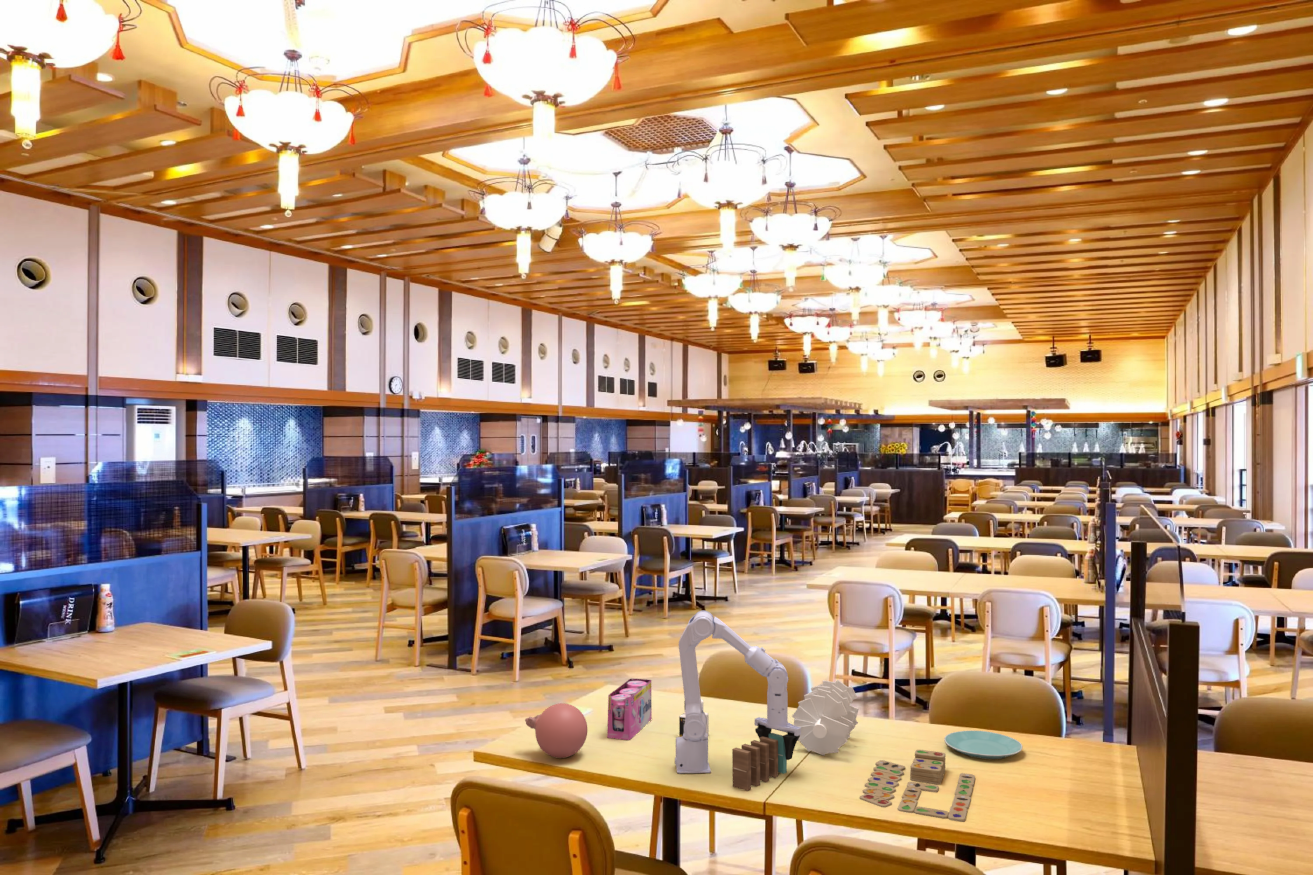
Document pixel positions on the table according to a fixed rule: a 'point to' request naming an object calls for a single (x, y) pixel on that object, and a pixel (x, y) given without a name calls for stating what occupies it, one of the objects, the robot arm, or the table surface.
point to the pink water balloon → (559, 730)
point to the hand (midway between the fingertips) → (777, 755)
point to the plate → (983, 744)
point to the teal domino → (780, 752)
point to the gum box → (629, 709)
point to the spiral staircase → (826, 717)
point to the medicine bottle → (682, 721)
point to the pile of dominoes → (918, 786)
